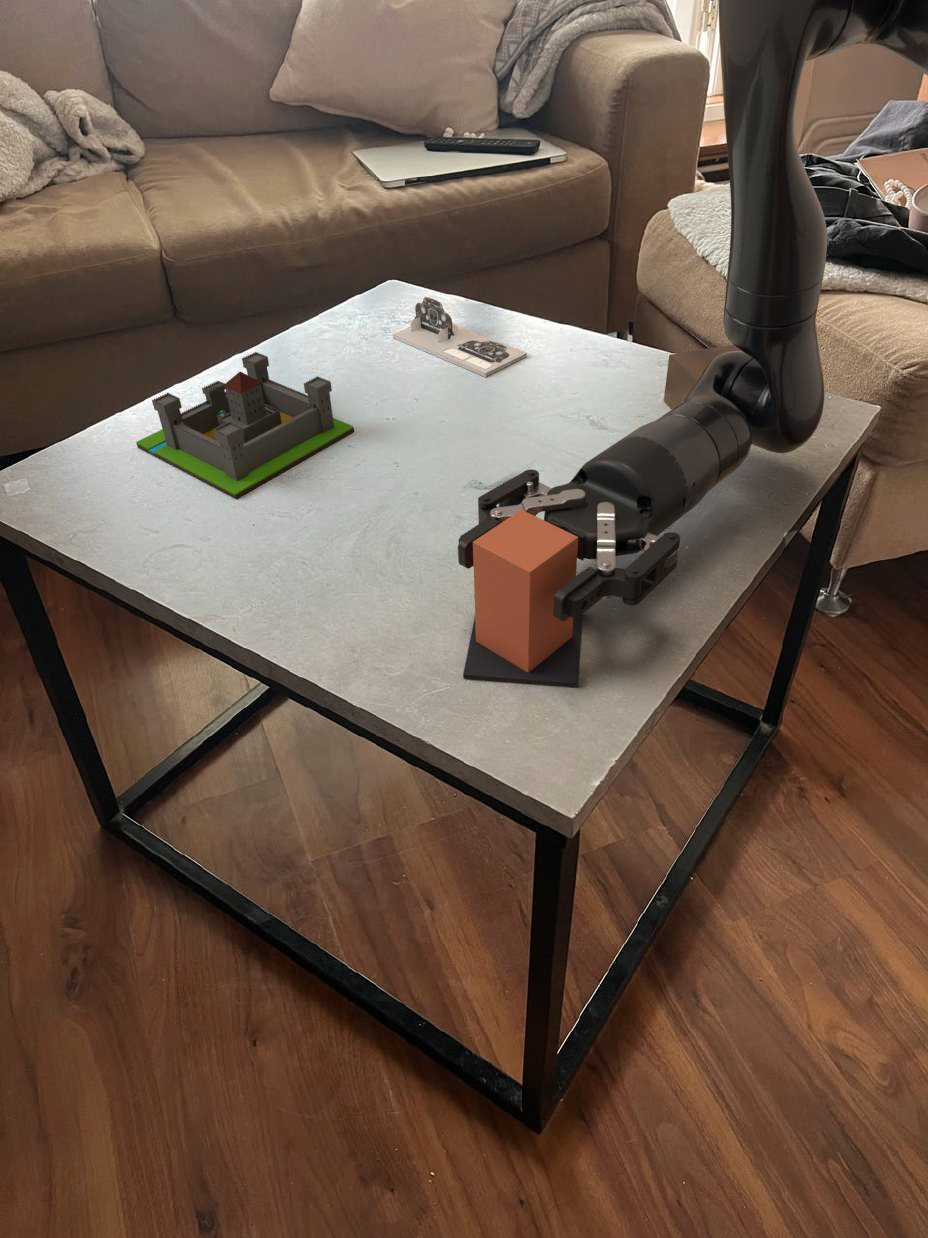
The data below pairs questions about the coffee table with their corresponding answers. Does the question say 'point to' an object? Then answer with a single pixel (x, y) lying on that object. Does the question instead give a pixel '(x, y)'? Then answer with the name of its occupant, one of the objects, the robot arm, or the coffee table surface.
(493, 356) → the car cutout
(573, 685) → the felt mat
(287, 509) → the coffee table surface
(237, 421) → the castle model
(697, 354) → the base block
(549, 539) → the top block
